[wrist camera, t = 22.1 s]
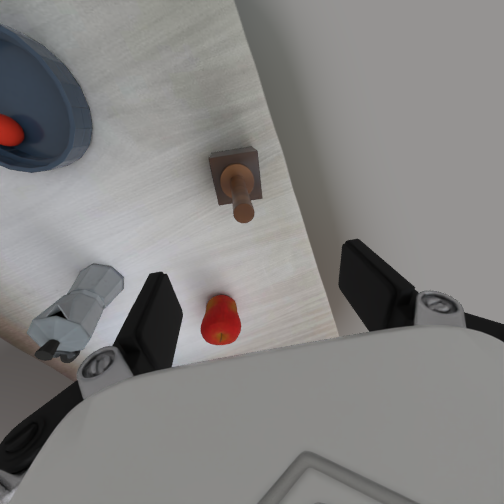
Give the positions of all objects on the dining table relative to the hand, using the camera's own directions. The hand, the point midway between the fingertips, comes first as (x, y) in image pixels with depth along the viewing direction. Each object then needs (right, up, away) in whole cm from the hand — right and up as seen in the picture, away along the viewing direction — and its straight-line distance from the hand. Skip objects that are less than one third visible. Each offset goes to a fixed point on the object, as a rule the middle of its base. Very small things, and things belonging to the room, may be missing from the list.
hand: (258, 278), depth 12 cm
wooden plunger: (-3, +12, +21) cm, 24 cm away
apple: (-8, -11, +42) cm, 44 cm away
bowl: (-32, +22, +19) cm, 44 cm away
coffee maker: (-33, -6, +36) cm, 49 cm away
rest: (-3, +16, +27) cm, 31 cm away
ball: (-35, +18, +18) cm, 43 cm away
